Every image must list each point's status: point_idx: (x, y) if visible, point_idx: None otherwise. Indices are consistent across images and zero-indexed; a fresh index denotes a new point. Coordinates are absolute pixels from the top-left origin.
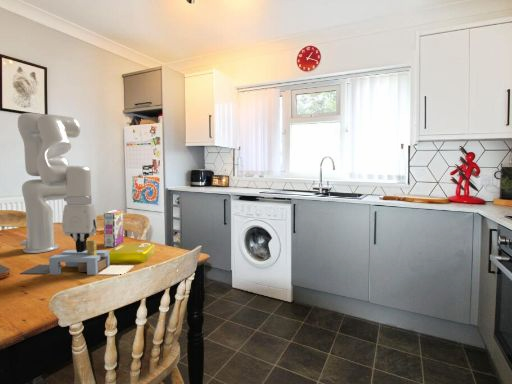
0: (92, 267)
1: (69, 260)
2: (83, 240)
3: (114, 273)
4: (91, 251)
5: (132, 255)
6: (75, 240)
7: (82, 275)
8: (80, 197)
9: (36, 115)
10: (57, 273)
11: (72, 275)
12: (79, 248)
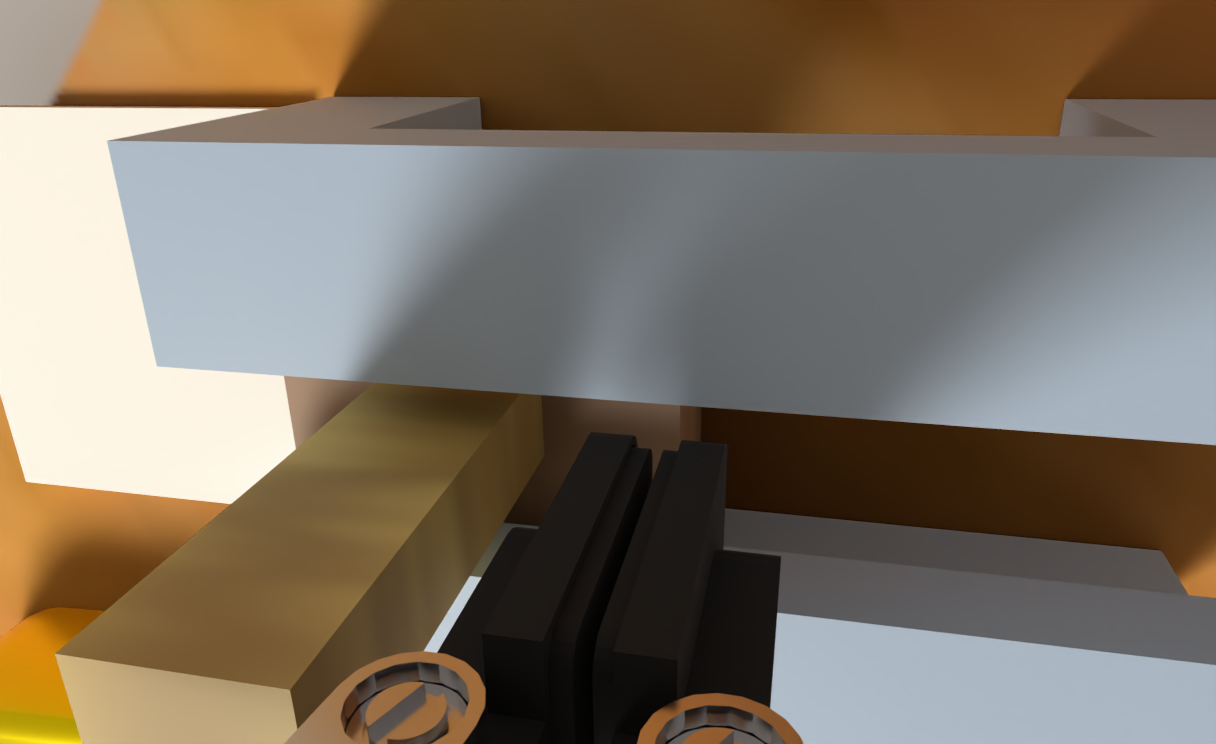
0: (309, 110)
1: (803, 138)
2: (357, 674)
3: (61, 139)
4: (342, 465)
5: (61, 693)
6: (720, 724)
7: (551, 70)
8: None
9: None
10: (1095, 102)
11: (742, 63)
12: (608, 487)
